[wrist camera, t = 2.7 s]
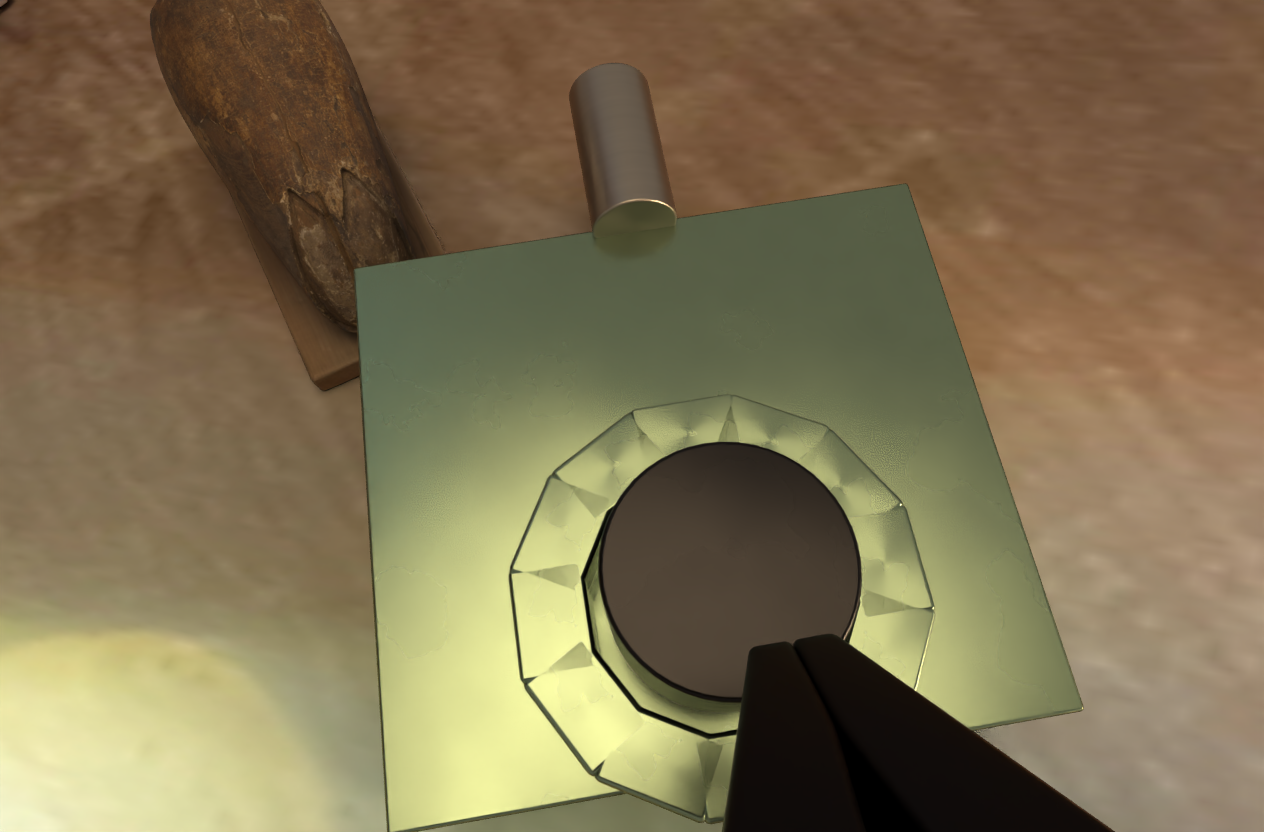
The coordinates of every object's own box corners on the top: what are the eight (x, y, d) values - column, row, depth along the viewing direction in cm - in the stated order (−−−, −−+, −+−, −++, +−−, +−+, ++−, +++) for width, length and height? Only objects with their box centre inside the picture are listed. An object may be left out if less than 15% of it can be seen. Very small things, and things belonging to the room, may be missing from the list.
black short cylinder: (855, 690, 14) (894, 676, 12) (625, 731, 14) (620, 725, 11) (801, 471, 15) (826, 421, 13) (590, 506, 15) (580, 461, 13)
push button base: (995, 749, 20) (1168, 741, 13) (449, 848, 19) (345, 891, 13) (859, 291, 24) (938, 111, 17) (409, 363, 23) (315, 205, 17)
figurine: (161, 29, 28) (-42, -277, 19) (298, -25, 28) (157, -342, 20) (323, 397, 23) (145, 197, 15) (482, 322, 24) (395, 92, 16)
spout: (676, 243, 20) (678, 194, 18) (594, 255, 20) (590, 208, 18) (648, 112, 21) (647, 56, 19) (572, 124, 21) (564, 68, 19)
